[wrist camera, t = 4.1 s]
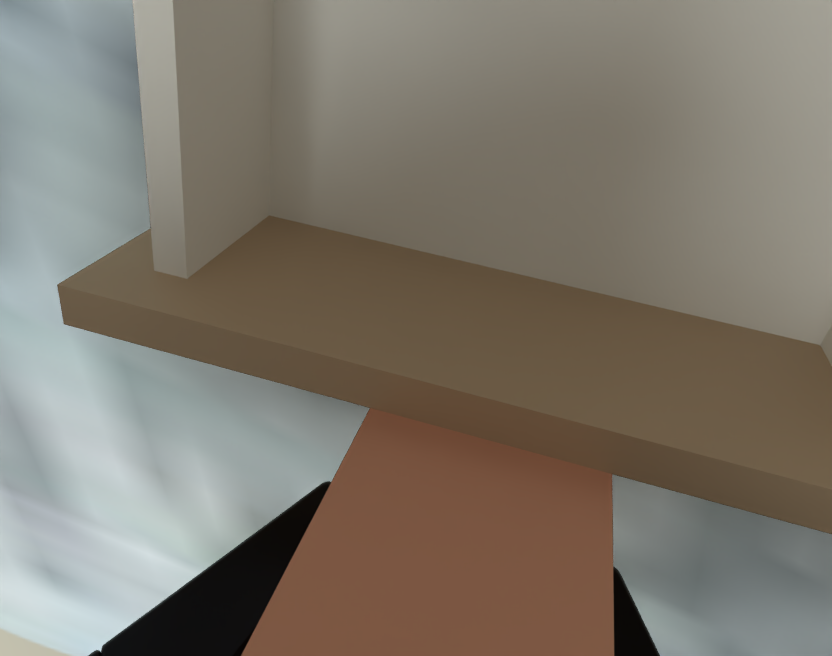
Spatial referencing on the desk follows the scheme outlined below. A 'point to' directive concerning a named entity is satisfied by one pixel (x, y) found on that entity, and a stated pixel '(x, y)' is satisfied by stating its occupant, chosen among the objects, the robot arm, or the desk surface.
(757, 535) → the desk surface
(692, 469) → the tray
